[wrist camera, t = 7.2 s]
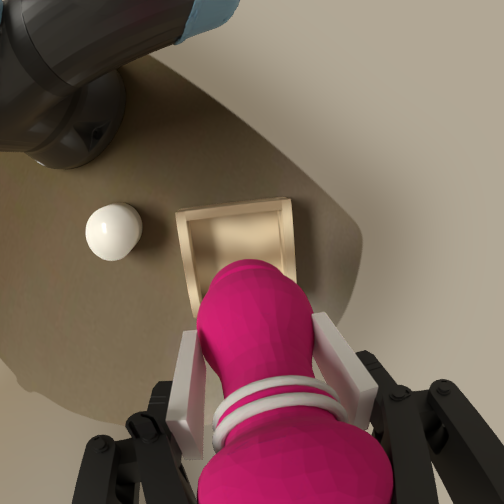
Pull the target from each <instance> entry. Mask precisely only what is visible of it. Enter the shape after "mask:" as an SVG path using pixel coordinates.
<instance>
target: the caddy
mask: <svg viewBox="0 0 504 504" xmlns="http://www.w3.org/2000/svg"><path fill="white" fill-rule="evenodd" d="M175 215H176V222H177V228H178V235H179V241H180V247H181V254H182V259H183V265H184V271H185V276H186V282H187V287H188V292H189V297H190V302H191V307H192V312H193V317H194V318H197V314H198V310H199V307H200V305H201V302H202V300H203V298H204V297H205V295H206V293H207V292H208V290H209V286H210V284H211V282H212V280H213V278H214V277H215V275H216V274H217V273H218V272H219V271H220V270H221V269H222V268H224V267H225V266H227V265H228V264H230V263H233V262H235V261H238V260H243V259H258V260H263V261H265V262H268V263H270V264H272V265H273V266H275V267H277V268H278V269H279V270H280V271H281V272H282V273H283V275H285V276H287V277H288V278H290V279H291V280H293V281H294V282H295V283H296V284H297V282H296V264H295V247H294V233H293V219H292V206H291V199H289V198H286V197H274V198H264V199H254V200H245V201H236V202H228V203H220V204H212V205H204V206H197V207H189V208H182V209H180V210H178V211H177V212H176V213H175Z"/></svg>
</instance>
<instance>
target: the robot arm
mask: <svg viewBox="0 0 504 504" xmlns="http://www.w3.org/2000/svg"><path fill="white" fill-rule="evenodd" d="M239 2H240V0H4V1H2V0H0V151H1V152H24V153H26V154H27V155H28V156H30V157H31V158H33V159H34V160H36V161H37V162H38V163H39V164H41V165H43V166H45V167H48V168H53V169H71V168H76V167H79V166H82V165H84V164H86V163H88V162H89V161H91V160H92V159H94V158H95V157H96V156H98V155H99V154H100V153H101V152H102V151H103V150H104V149H105V148H106V146H107V145H108V144H109V143H110V141H111V140H112V138H113V137H114V135H115V133H116V132H117V130H118V128H119V125H120V123H121V120H122V117H123V114H124V109H125V102H126V93H125V87H124V83H123V80H122V78H121V76H120V74H119V73H118V71H117V70H116V69H117V68H119V67H121V66H123V65H125V64H127V63H129V62H131V61H134V60H136V59H138V58H140V57H143V56H145V55H147V54H149V53H152V52H154V51H157V50H159V49H162V48H164V47H167V46H170V45H172V44H173V45H178V44H180V43H182V42H183V41H185V39H187V38H189V37H192V36H195V35H197V34H200V33H203V32H206V31H209V30H212V29H215V28H217V27H219V26H221V25H223V24H224V23H226V22H227V21H228V20H229V19H230V17H231V16H232V15H233V13H234V11H235V10H236V8H237V7H238V5H239ZM312 324H313V330H314V339H315V344H314V349H313V357H314V359H315V361H316V363H317V365H318V367H319V369H320V371H321V373H322V375H323V377H324V379H325V381H326V383H327V384H328V385H329V386H330V387H332V388H333V389H334V390H335V391H336V393H337V395H338V396H339V399H340V402H341V405H342V406H343V407H344V409H345V410H346V412H347V414H348V419H349V424H351V425H354V426H357V427H358V428H360V429H362V430H367V429H368V427H369V423H370V422H371V424H372V426H373V427H374V429H373V432H372V435H371V436H373V437H374V438H375V439H376V440H377V441H378V442H379V443H380V445H381V446H382V448H383V449H384V451H385V453H386V454H387V456H388V458H389V460H390V463H391V465H392V470H393V478H394V490H393V497H392V502H391V504H439V502H438V496H437V489H436V484H435V478H434V473H433V468H432V463H433V465H434V467H435V469H436V471H437V472H438V474H439V476H440V478H441V480H442V482H443V484H444V486H445V488H446V490H447V492H448V494H449V496H450V497H451V500H452V501H453V504H504V445H503V444H502V443H501V441H500V440H499V439H498V437H497V436H496V435H495V433H494V432H493V431H492V429H491V428H490V427H489V425H488V424H487V423H486V422H485V420H484V419H483V418H482V417H481V415H480V414H479V413H478V411H477V410H476V409H475V408H474V407H473V405H472V404H471V403H470V402H469V400H468V399H467V398H466V397H465V396H464V394H463V393H462V392H461V391H460V390H459V388H458V387H457V386H456V385H455V384H454V383H453V382H451V381H449V380H445V379H440V380H436V381H434V382H433V383H432V384H431V386H430V388H429V390H423V391H411V389H409V388H408V387H406V386H403V385H397V384H396V382H395V381H394V380H393V378H392V377H391V376H390V375H389V373H388V372H387V371H386V370H385V368H384V367H383V366H382V365H381V363H380V362H379V361H378V360H377V359H376V357H375V356H374V355H373V354H371V353H370V352H368V351H366V350H364V351H360V352H357V353H354V351H353V350H352V348H351V347H350V346H349V345H348V343H347V342H346V340H345V339H344V337H343V336H342V335H341V333H340V332H339V331H338V329H337V328H336V326H335V325H334V324H333V322H332V321H331V320H330V318H329V317H328V316H327V314H326V313H325V312H320V313H315V314H312ZM205 382H206V366H205V362H204V358H203V353H202V349H201V345H200V340H199V336H198V331H197V330H190V331H183V336H182V340H181V345H180V350H179V354H178V359H177V364H176V369H175V374H174V378H173V381H159V382H158V383H157V384H156V385H155V387H154V388H153V390H152V394H151V398H150V401H149V405H148V409H147V411H143V412H138V413H135V414H133V415H132V416H130V417H129V418H128V420H127V421H126V426H125V427H126V428H127V430H128V432H129V434H130V435H131V437H132V438H129V439H125V440H119V441H114V440H113V438H111V437H110V436H107V435H97V436H95V437H93V438H91V439H90V440H89V442H88V443H87V445H86V449H85V452H84V455H83V459H82V463H81V467H80V470H79V475H78V478H77V482H76V487H75V491H74V496H73V500H72V504H139V490H140V482H141V483H142V487H143V492H144V496H145V500H146V504H197V500H196V498H195V495H194V493H193V490H192V488H191V485H190V483H189V480H188V478H187V475H186V472H185V469H184V467H183V465H182V463H181V456H182V455H183V457H184V459H185V460H200V459H203V431H204V404H205ZM431 461H432V463H431Z"/></svg>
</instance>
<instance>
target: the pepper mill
mask: <svg viewBox="0 0 504 504" xmlns="http://www.w3.org/2000/svg"><path fill="white" fill-rule="evenodd" d="M312 314H314V313H313V310H312V307H311V305H310V303H309V301H308V299H307V296H306V294H305V293H304V292H303V290H302V289H301V288H300V287H299V286H298V285H297V284H296V283H295V282H294V281H293V280H291V279H290V278H288V277H287V276H285V275H283V273H282V272H281V271H280V270H279V269H278V268H277V267H275V266H273V265H272V264H270V263H268V262H265V261H263V260H258V259H243V260H238V261H235V262H233V263H230V264H228V265H227V266H225V267H224V268H222V269H221V270H220V271H219V272H218V273H217V274H216V275H215V277H214V278H213V280H212V282H211V284H210V286H209V290H208V292H207V293H206V295H205V297H204V298H203V300H202V302H201V305H200V307H199V310H198V314H197V331H198V336H199V340H200V345H201V349H202V353H203V355H204V357H205V359H206V361H207V362H208V364H209V365H210V366H211V368H212V369H213V370H214V371H215V373H216V374H217V375H218V376H219V378H220V380H221V383H222V389H223V394H224V400H223V401H222V403H221V404H220V405H219V406H218V408H217V410H216V412H215V414H214V417H213V431H214V434H213V442H212V444H213V448H214V451H215V453H216V455H214V456H213V458H212V459H211V460H210V461H209V463H208V464H207V465H206V466H205V467H204V468H203V471H202V473H201V475H200V477H199V480H198V489H197V504H391V502H392V497H393V490H394V478H393V470H392V465H391V463H390V460H389V458H388V456H387V454H386V453H385V451H384V449H383V448H382V446H381V445H380V443H379V442H378V441H377V440H376V439H375V438H374V437H373V436H371V435H370V434H369V433H368V432H366V431H364V430H362V429H360V428H358V427H357V426H354V425H351V424H349V419H348V414H347V412H346V410H345V409H344V407H343V406H342V405H341V402H340V399H339V396H338V395H337V393H336V391H335V390H334V389H333V388H332V387H330V386H329V385H328V384H326V383H325V382H323V381H320V380H318V379H315V376H314V373H313V370H312V355H313V349H314V344H315V339H314V330H313V324H312Z"/></svg>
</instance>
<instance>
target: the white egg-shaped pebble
mask: <svg viewBox="0 0 504 504" xmlns="http://www.w3.org/2000/svg"><path fill="white" fill-rule="evenodd" d="M141 235H142V220H141V217H140V215H139V213H138V212H137V211H136V210H135V209H134V208H133V207H132V206H130V205H129V204H126V203H121V202H117V203H113V204H110V205H108V206H105V207H103V208H100V209H98V210H97V211H95V212H94V213H93V214H92V215H91V217H90V218H89V220H88V222H87V226H86V239H87V242H88V245H89V247H90V248H91V250H92V251H93V252H94V253H95V254H96V255H97V256H98V257H100V258H102V259H105V260H109V261H114V260H119V259H121V258H123V257H125V256H126V255H127V254H128V253H129V252H130V251H131V250H132V248H133V247H134V246H135V245H136V244H137V243H138V241H139V239H140V237H141Z"/></svg>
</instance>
